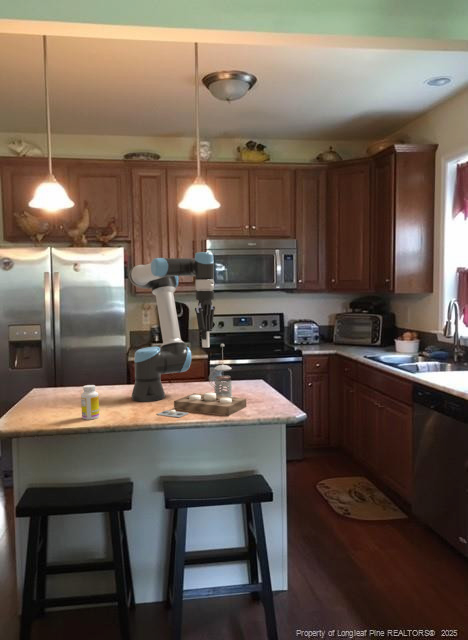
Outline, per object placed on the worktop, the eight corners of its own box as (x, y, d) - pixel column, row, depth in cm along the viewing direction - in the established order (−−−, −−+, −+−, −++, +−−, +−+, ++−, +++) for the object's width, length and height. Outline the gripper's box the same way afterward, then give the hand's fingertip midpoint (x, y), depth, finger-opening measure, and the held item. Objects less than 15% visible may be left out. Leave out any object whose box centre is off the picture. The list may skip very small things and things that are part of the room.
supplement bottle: (100, 415, 207) (99, 384, 206) (97, 419, 201) (95, 387, 200) (84, 416, 207) (83, 384, 206) (79, 420, 200) (78, 387, 199)
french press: (229, 400, 229) (228, 345, 227) (205, 399, 233) (204, 344, 231) (236, 396, 238) (236, 342, 237) (213, 394, 242) (212, 342, 240)
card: (156, 414, 207) (156, 411, 207) (166, 410, 213) (166, 407, 213) (179, 417, 202) (179, 413, 202) (188, 413, 208) (188, 409, 208)
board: (174, 409, 215) (173, 400, 215) (194, 401, 230) (194, 393, 229) (228, 415, 204) (228, 406, 203) (246, 406, 218) (246, 398, 217)
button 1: (187, 404, 219) (187, 396, 219) (193, 401, 223) (193, 394, 223) (197, 405, 217) (197, 397, 216) (203, 402, 221) (203, 395, 221)
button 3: (217, 407, 212) (217, 399, 212) (223, 404, 216) (223, 397, 216) (228, 408, 210) (228, 400, 209) (234, 405, 214) (234, 398, 214)
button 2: (202, 401, 215) (202, 394, 215) (208, 399, 220) (208, 392, 219) (212, 403, 213) (212, 395, 213) (218, 400, 217) (218, 393, 217)
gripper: (204, 290, 203) (205, 349, 205) (220, 289, 214) (221, 345, 216) (188, 290, 206) (189, 348, 208) (204, 289, 218) (205, 344, 220)
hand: (205, 347), depth 212 cm, fingers closed
